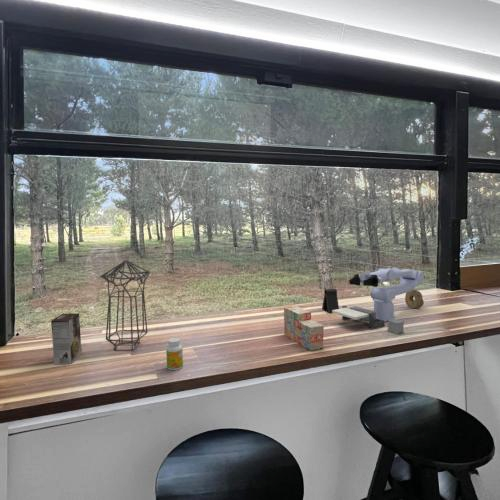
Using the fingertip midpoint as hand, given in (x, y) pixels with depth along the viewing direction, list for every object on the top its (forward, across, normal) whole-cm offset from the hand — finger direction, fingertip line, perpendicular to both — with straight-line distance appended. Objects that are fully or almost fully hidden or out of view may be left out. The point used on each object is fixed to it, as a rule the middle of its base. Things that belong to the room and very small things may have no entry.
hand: (356, 282), depth 157 cm
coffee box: (+114, -42, +11) cm, 122 cm away
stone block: (-6, +13, +22) cm, 27 cm away
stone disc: (-51, -4, +23) cm, 56 cm away
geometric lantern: (+92, -41, +12) cm, 102 cm away
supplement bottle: (+86, -12, +15) cm, 88 cm away
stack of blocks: (+33, -4, +19) cm, 38 cm away
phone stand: (-11, -28, +19) cm, 35 cm away
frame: (-6, -4, +21) cm, 22 cm away
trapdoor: (-1, -4, +18) cm, 18 cm away
